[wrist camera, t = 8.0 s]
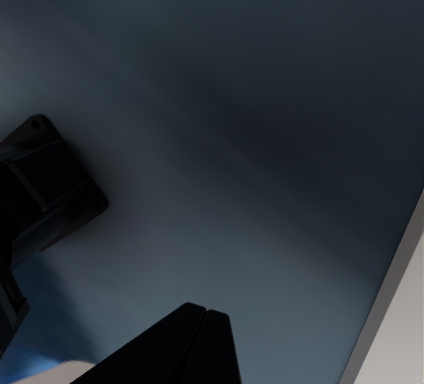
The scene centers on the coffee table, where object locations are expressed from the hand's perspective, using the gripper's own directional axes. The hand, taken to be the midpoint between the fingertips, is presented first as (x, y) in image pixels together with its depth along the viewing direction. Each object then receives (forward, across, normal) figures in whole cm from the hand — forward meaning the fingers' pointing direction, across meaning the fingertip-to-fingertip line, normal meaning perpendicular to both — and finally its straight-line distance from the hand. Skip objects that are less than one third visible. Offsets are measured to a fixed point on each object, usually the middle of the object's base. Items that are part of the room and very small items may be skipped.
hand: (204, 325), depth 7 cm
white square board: (+13, -19, +6) cm, 24 cm away
